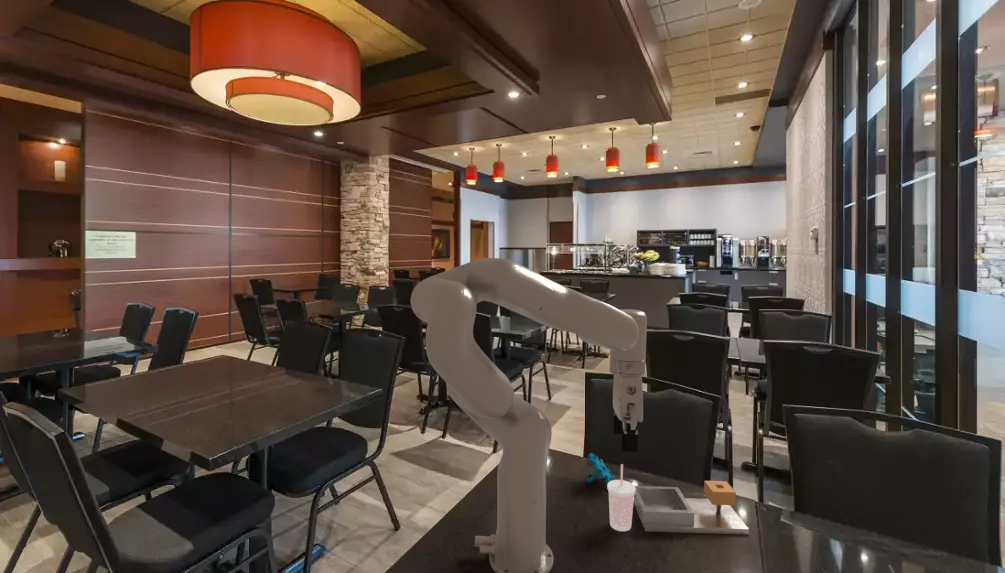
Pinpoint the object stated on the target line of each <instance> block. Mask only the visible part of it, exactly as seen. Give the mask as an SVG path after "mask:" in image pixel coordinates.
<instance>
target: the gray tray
mask: <svg viewBox="0 0 1005 573" xmlns="http://www.w3.org/2000/svg"><path fill="white" fill-rule="evenodd" d="M634 486H635V488H636V490H635V494H634V502H633V506H634V507H635V509H636V512H637V515H638V517H639V519H640V522H641V524H642V526H643V528H644V531H645V532H655V533H656V532H660V533H661V532H662V533H689V534H691V533H692V534H716V535H717V534H721V535H723V534H724V535H726V534H728V535H749V534H750V529H749V527H748V526H747V525H746V523H745V522H744V521H743V520H742V518H741V517H740V516H739V515H738V513H737V512H736V511H735V509H734V508H733V507H732V505H712V503H711V502H710V501H709V499H708V498H693V497H689V498H688V497H687V498H686V497H685V496H684V494H683V493H682V491H681V490H680V488H679V487H678V486H655V485H654V486H649V485H647V486H645V485H634Z"/></svg>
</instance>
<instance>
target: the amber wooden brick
mask: <svg viewBox="0 0 1005 573" xmlns="http://www.w3.org/2000/svg"><path fill="white" fill-rule="evenodd" d="M703 482H704V483H703V494H704V496H706V499H709V501H710V502H711V503H712V505H730V506H736V501H737V498H736V497H737V492H736V491H735V490H734V488H733V487H732V486H731V485H730V484H729V483H728V482H727V481H726V480H725V481H724V480H723V481H722V480H704V481H703Z"/></svg>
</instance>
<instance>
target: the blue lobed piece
mask: <svg viewBox="0 0 1005 573" xmlns="http://www.w3.org/2000/svg"><path fill="white" fill-rule="evenodd" d="M587 458H588V462H589V463H590V464H591V465H592V467H593V470H592V471H590V472H589V473H590V474H589V475H591V476H590V477H589V478H587V479H586V482H587V483H588V484H591V483H592V482H593V481H594V480H596V479H597V478H598V477H600V478H601V479H602V480H603V479H605V483H606V484H608V482H610V481H612V480H616V478H615V476H614V475H612V474H611V473H612V472H611V470H610V469H609V468H607V467H606V464H605V463H604V461H603V459H601V458H600V459H599V457H598V456H597V455H595V454H594V453H592V452H590V453H589V454H588V455H587Z"/></svg>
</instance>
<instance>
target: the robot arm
mask: <svg viewBox="0 0 1005 573" xmlns="http://www.w3.org/2000/svg"><path fill="white" fill-rule="evenodd" d="M483 301H484V302H488V303H492V304H495V305H498V306H501V307H503V308H505V309H506V310H509V311H512V312H514V313H517V314H518V315H521V316H523V317H525V318H528V319H530V320H531V321H534V322H536V323H539V324H540V325H544V326H547V327H549V328H551V329H555V330H559V331H563V332H568V333H571V334H574V335H577V337H578V338H579V339H580V340H581V341H583V342H584V343H586V344H588V345H589V344H590V345H593V346H597V347H601V348H603V349H608V350H609V353H610V354H609V373H610V374H612V375H613V384H612V385H613V386H612V387H613V388H612V408H613V410H614V412H613V423H612V424H613V426H612V427H613V428H612V429H613V430H612V431H613V434H615V435H621V442H620V443H621V445H620V446H621V447H620V448H621V449H620V450H621V452H623V453H637V452H638V441H639V440H638V438H639V437H638V436H639V430H638V422H639V423H642V422H643V421H644V392H643V391H644V390H643V379H642V377H643V376H645V375H646V358H647V357H646V354H647V353H646V352H647V332H648V330H647V329H648V328H647V327H648V316H647V314H646V313H645V312H644V311H643V310H639V309H631V308H630V309H629V308H628V309H627V308H626V309H624V308H623V309H622V308H621V309H618V308H616V306H612V305H611V304H608V303H606V302H604V301H601V300H599V299H597V298H593V297H591V296H588V295H586V294H583V293H581V292H579V291H577V290H575V289H572V288H570V287H567V286H564V285H562V284H560V283H558V282H556V281H554V280H551V279H550V278H547V277H546V276H544V275H541V274H540V273H538V272H536V271H534V270H532V269H530V268H528V267H526V266H524V265H522V264H521V263H518V262H516V261H514V260H512V259H507V258H501V257H497V258H494V257H481V258H478V259H475V260H472V261H469V262H466V263H464V264H461V265H458V266H455V267H453V268H451V269H448V270H445V271H443V272H440V273H438V274H433V275H430V276H429V277H427V278H425V279H423V280H421V281H420V282H418V283H417V284H416V285H415V286H414V288H413V290H412V292H411V294H410V306H411V309H412V311H413V314H415V316H416V317H417V318H418V319H419V320H421V321H422V322H424V323H427V326H426V331H425V352H426V356H427V358H428V361H429V364H430V365H431V367H432V368H433V369H434V371H435V372H436V373H437V374H438V376H440V378H441V379H442V380H443V381H444V382H445V383H446V384H445V385H446V390H447V393H448V396H450V398H451V399H452V400H453V402H455V403H456V405H457V406H458V407H459V408H460V409H461V410H462V411H463V412H464V413H465V414H466V415H467V416H468V417H469V418H470V419H471V420H472V421H473V422H474V423H475V424H476V425H477V426H478V427H479V428H480V429H482V431H484V432H485V433H486V434H487V435H488V436H490V437H491V438H493V440H495V441H496V442H497V443H498V444H499V445H501V448H502V454H501V458H500V460H499V461H498V465H497V477H496V479H497V480H496V483H497V484H496V485H497V486H496V487H497V489H496V491H497V496H496V499H497V501H496V502H497V503H496V504H497V506H496V508H497V510H496V511H497V512H496V513H497V516H496V517H497V518H496V520H497V521H496V522H497V523H496V524H497V525H496V528H497V529H496V530H495V531H496V532H495V534H490V536H488V535H487V536H485V535H475V536H474V547H479V554H484V555H485V554H488V555H489V566H490V567H491V568H492V571H494V573H550V572H551V570H552V569H553V565H554V554H553V550H552V549H551V548H550V546H549V545H548V544H547V543H546V536H547V535H546V534H547V533H546V532H547V531H546V529H547V527H546V526H547V525H546V524H547V522H546V521H547V467H548V455H549V451H550V447H551V442H552V431H553V430H552V425H551V422H550V420H549V418H548V417H547V415H546V413H544V412H543V411H542V410H541V409H539V408H538V407H537V406H535V405H533V404H531V403H529V401H526V400H523V399H522V398H519V397H518V396H516V395H515V391H514V388H513V385H512V383H511V381H510V379H509V378H508V376H506V374H505V373H504V372H503V371H502V370H501V369H500V368H499V367H498V366H497V365H496V364H495V363H494V362H493V361H492V360H491V359H490V358H489V357H488V356H487V354H485V352H484V351H483V349H482V348H480V346H479V344H478V343H477V342H476V340H475V337H474V324H475V320H476V315H477V304H479V303H481V302H483Z"/></svg>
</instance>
